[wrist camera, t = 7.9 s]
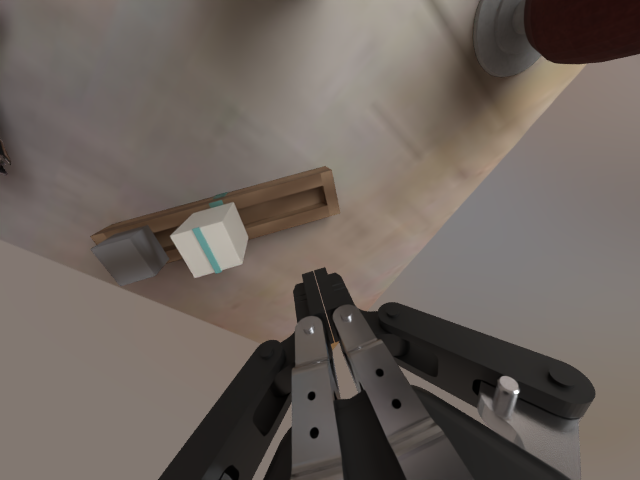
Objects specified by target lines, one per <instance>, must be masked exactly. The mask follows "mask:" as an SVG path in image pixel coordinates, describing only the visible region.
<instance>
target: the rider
mask: <svg viewBox="0 0 640 480" xmlns="http://www.w3.org/2000/svg"><path fill="white" fill-rule="evenodd" d="M170 237H171V239H172V241H173V242H174V244H175V246H176V247H177V249H178V251H179V252H180V254H181V256H182V257H183V259H184V261H185V262H186V264H187V266H188V267H189V269H190V271H191V272H192V274H193V276H194V277H195V278H197V277H201V276H204V275H207V274H211V273H214V272H215V273H216V274H217V273H220V272H222V270H224V269H228V268H231V267H234V266H238V265H241V264H242V263H243V259H244V254H245V250H246V246H247V242H248V235H247V233H246V230H245V228H244V225H243V223H242V221H241V218H240V216H239V213H238V211H237V209H236V206H235V204H234V202H232V203H228V204H224V205H221V206H217V207H214V208H210V209H206V210H203V211H199V212H195V213H193V214H192V215H191V216H190V217H189V218H188V219H187V220H186V221H185V222H184V223H183V224H182V225H181V226H180V227H179V228H178V229H177V230H176V231H174V232H173V233H172V234H171V235H170Z"/></svg>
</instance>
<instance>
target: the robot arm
mask: <svg viewBox="0 0 640 480" xmlns="http://www.w3.org/2000/svg"><path fill="white" fill-rule="evenodd" d="M314 272H315V276H316V279H317V283H318V286H319V289H320V293H321V296H322V300H323V303H324V306H325V310H326V313H327V316H328V320H329V323H330V326H331V330H332V333H333V336H334V340H335V342H338V341H339V343H340V346H341V349H342V352H343V356H344V359H345V361H346V364H347V366H348V368H349V371H350V373H351V376H352V378H353V381H354V383H355V385H356V388H357V391H358V394H357V395H355V396H354V397H352V398H350V399H341V397H340V392H339V386H338V381H337V376H336V370H335V365H334V359H333V352H332V348H331V344H332V343H334V341H333V337H332V334H331V331H330V327H329V324H328V320H327V317H326V313H325V310H324V307H323V303H322V300H321V296H320V293H319V290H318V286H317V283H316V279H315V276H314V273H313V271H311V272H308V273H305V274H302V278H303V283H300V284H297V285H295V288H294V290H293V294H294V301H295V309H296V317H297V325H296V327H295V331H294V333H293V334H292V335H291V336H290V337H289V338H287V339H286V340H284V341H283V342H281V343H280V342H279V341H277V340H269V341H266V342H264V343H262V344H261V345H260V346H259V347H258V348H257V349H256V350H255V352H254V353H253V354H252V356H251V357H250V358H249V359H248V361H247V362H246V363H245V365H244V366H243V367H242V369H241V370H240V372H239V373H238V374H237V376H236V377H235V378H234V380H233V381H232V382H231V383H230V385H229V386H228V388H227V389H226V390H225V391H224V393H223V394H222V396H221V397H220V398H219V399H218V401H217V402H216V403H215V405H214V406H213V407H212V409H211V410H210V411H209V413H208V414H207V415H206V417H205V418H204V419H203V421H202V422H201V423H200V425H199V426H198V428H197V429H196V430H195V431H194V433H193V434H192V435H191V437H190V438H189V439H188V440H187V442H186V443H185V445H184V446H183V447H182V448H181V450H180V451H179V452H178V454H177V455H176V456H175V458H174V459H173V461H172V462H171V463H170V464H169V466H168V467H167V468H166V470H165V471H164V472H163V474H162V475H161V476H160V478H159V479H158V480H252V478H253V476H254V474H255V472H256V470H257V468H258V466H259V464H260V463H261V461H262V459H263V457H264V455H265V453H266V451H267V449H268V447H269V445H270V443H271V441H272V439H273V437H274V435H275V433H276V432H277V430H278V427H279V426H280V424H281V422H282V420H283V418H284V416H285V414H286V412H287V410H288V408H289V406H290V404H291V402H292V427H291V428H290V429H289V430H288V431H287V433H286V434H285V435H284V437H283V439H282V440H281V442H280V444H279V446H278V448H277V451H276V453H275V455H274V457H273V459H272V461H271V464H270V466H269V468H268V470H267V472H266V475H265V477H264V479H263V480H581V467H580V446H579V426H578V424H579V422H580V420H581V419H582V417H583V415H584V414H585V412H586V411H587V409H588V407H589V406H590V404H591V402H592V401H593V399H594V398H595V389H594V387H593V385H592V383H591V382H590V381H589V379H588V378H587V377H586V376H585V375H584V374H582V373H581V372H580V371H579V370H577V369H576V368H574V367H572V366H571V365H569V364H567V363H564V362H562V361H559V360H556V359H553V358H551V357H548V356H545V355H542V354H540V353H537V352H534V351H531V350H528V349H526V348H523V347H520V346H517V345H514V344H511V343H508V342H506V341H503V340H500V339H498V338H494V337H492V336H489V335H486V334H483V333H481V332H477V331H475V330H472V329H469V328H466V327H464V326H461V325H458V324H455V323H453V322H450V321H447V320H444V319H441V318H439V317H436V316H433V315H430V314H427V313H424V312H422V311H418V310H416V309H413V308H410V307H408V306H405V305H402V304H399V303H395V302H389V303H386V304H383V305H382V306H381V307H380V308H379V309H378V311H376V312H375V311H374V312H367V311H363V310H360V309H358V308H357V307H356V306H355V304H354V302H353V300H352V298H351V296H350V294H349V292H348V290H347V288H346V286H345V284H344V281H343V279H342V277H341V276H340V275H338V274H337V273H332V274H329V275H328V273H327V271H326V268H325V267H324V268H321V269H318V270H314ZM398 365H399V366H401V367H402V368H404V369H406V370H408V371H410V372H412V373H413V374H415V375H417V376H419V377H421V378H423V379H424V380H426V381H428V382H430V383H432V384H434V385H435V386H437V387H439V388H441V389H443V390H445V391H446V392H448V393H450V394H452V395H454V396H456V397H458V398H459V399H461V400H463V401H465V402H467V403H469V404H470V405H472V406H474V407H476V408H477V409H478V413H479V415H480V417H481V418H482V420H483V421H484V422H485V424H486V425H487V426H488V427H490V428H491V429H492V430H491V429H490V428H488V427H486V426H485V425H483V424H481V423H480V422H478V421H476V420H475V419H473V418H472V417H470V416H468V415H466V414H465V413H463V412H461V411H460V410H458V409H457V408H455V407H454V406H452V405H450V404H448V403H447V402H445V401H444V400H442V399H440V398H439V397H437V396H435V395H434V394H432V393H430V392H429V391H427V390H425V389H423V388H420V387H417V386H414V385H410V384H409V382H408V380H407V379H406V377H405V376H404V374H403V373H402V371H401V369H400V368H399V366H398Z"/></svg>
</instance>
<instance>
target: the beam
mask: <svg viewBox="0 0 640 480" xmlns="http://www.w3.org/2000/svg"><path fill="white" fill-rule="evenodd" d="M232 202H234V204H235V206H236V209H237V211H238V213H239V216H240V218H241V221H242V223H243V225H244V228H245V230H246V233H247V235H248V240H250V239H253V238H256V237H260V236H263V235H267V234H270V233H274V232H277V231H281V230H284V229H287V228H291V227H294V226H298V225H301V224H305V223H308V222H312V221H315V220H318V219H322V218H325V217H329V216H332V215H336V214H339V213H340V209H339V204H338V199H337V194H336V189H335V184H334V179H333V174H332V170H331V169H329V168H327V167H326V166H324V167H320V168H317V169H313V170H309V171H306V172H302V173H298V174H295V175H291V176H287V177H284V178H280V179H276V180H273V181H269V182H265V183H262V184H258V185H254V186H251V187H247V188H243V189H240V190H236V191H232V192H229V193H227V192H226V193H223V194H219V195H216V196H214V197H210V198H207V199H203V200H199V201H196V202H192V203H188V204H185V205H181V206H177V207H174V208H170V209H167V210H163V211H159V212H156V213H152V214H148V215H145V216H141V217H137V218H134V219H130V220H126V221H123V222H119V223H115V224H112V225H110V226H108V227H106V228H104V229H103V230H101V231H99V232H97V233H95V234H94V235H92V236H90V237H91V238H92V240H93V241H94V242H95V243H96V246H95V247H93V248H92V249H91V251H92V252H93V253H94V254H95V256H96V257H97V258H98V259H99V261H100V262H101V263H102V264H103V266H104V267H105V268H106V269H107V271H108V272H109V273H110V274H111V276H112V277H113V278H114V279H115V280H116V282H117V283H118V284H119V285H120V286H123V285H126V284H130V283H133V282H136V281H140V280H143V279H147V278H150V277H154V276H156V275H157V273H158V272H159V271H160V270H161V269H162V267H163V266H164V265H165V264H167V263H170V262H174V261H177V260H181V259H183V257H182V256H181V254H180V252H179V251H178V249H177V247H176V246H175V244H174V242H173V241H172V239H171V237H170V235H171V234H172V233H173V232H174V231H176V230H177V229H178V228H179V227H180V226H181V225H182V224H183V223H184V222H185V221H186V220H187V219H188V218H189V217H190V216H191V215H192V214H193V213H195V212H199V211H203V210H206V209H210V208H214V207H217V206H221V205H224V204H228V203H232Z"/></svg>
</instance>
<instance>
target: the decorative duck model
mask: <svg viewBox="0 0 640 480" xmlns="http://www.w3.org/2000/svg"><path fill="white" fill-rule="evenodd" d="M0 155H1V156H2V157H3V158H4V159H5V160H6V161H7V162H8V163H9V164H10V165H11V161H10V159H9V156H8V154H7V152H6V149H5V147H4V144H3V142H2V140H1V137H0ZM2 165H6V164H5V163H4V162H3V161H2V160H1V158H0V174H2V175H7V172H6V171H5V169H4V168H3V166H2Z"/></svg>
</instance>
